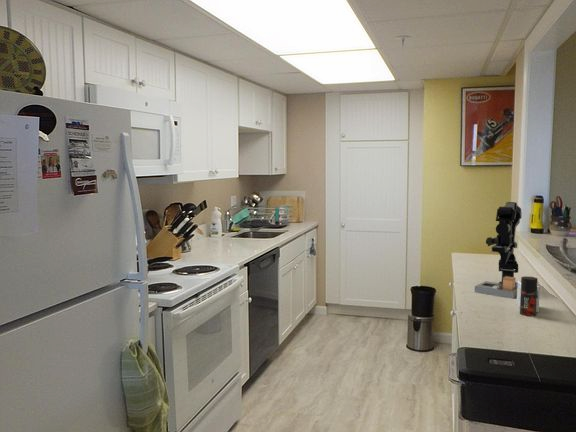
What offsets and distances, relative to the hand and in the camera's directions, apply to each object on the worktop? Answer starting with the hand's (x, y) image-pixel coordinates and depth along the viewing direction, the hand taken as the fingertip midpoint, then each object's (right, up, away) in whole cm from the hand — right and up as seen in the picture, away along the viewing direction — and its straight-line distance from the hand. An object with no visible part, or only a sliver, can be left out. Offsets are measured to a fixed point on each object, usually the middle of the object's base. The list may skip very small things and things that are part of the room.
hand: (504, 264), depth 250 cm
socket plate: (-5, -13, -5) cm, 15 cm away
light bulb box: (-4, -16, -33) cm, 37 cm away
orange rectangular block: (-1, -13, -8) cm, 16 cm away
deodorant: (-8, -17, -41) cm, 45 cm away
